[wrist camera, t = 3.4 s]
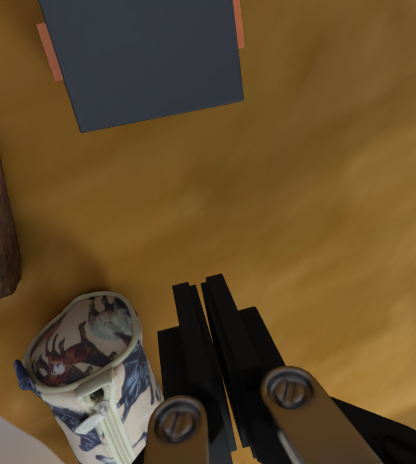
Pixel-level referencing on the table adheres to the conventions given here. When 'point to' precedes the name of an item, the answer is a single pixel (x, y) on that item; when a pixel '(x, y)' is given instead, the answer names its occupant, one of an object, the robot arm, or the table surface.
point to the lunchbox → (143, 57)
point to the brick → (7, 245)
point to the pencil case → (94, 377)
